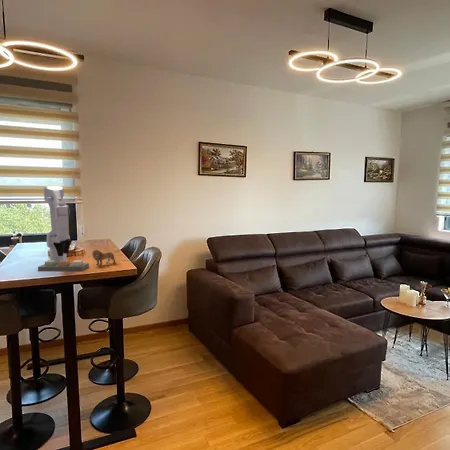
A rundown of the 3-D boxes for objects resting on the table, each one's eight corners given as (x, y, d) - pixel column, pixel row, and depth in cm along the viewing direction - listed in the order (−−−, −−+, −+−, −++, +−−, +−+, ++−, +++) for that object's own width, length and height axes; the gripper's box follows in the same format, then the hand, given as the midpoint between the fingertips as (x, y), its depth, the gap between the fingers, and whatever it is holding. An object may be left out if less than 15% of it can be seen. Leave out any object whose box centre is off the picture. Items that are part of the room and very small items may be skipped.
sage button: (48, 265, 178) (48, 260, 178) (56, 265, 178) (56, 260, 178) (44, 266, 174) (44, 261, 174) (52, 266, 174) (52, 261, 174)
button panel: (47, 266, 181) (47, 263, 181) (88, 266, 182) (88, 263, 182) (38, 270, 171) (37, 266, 171) (82, 270, 172) (82, 266, 172)
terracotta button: (61, 265, 178) (61, 260, 178) (69, 265, 179) (69, 260, 178) (58, 266, 174) (58, 261, 174) (66, 266, 175) (66, 261, 174)
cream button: (75, 265, 179) (75, 260, 179) (83, 265, 179) (83, 260, 179) (72, 266, 175) (72, 261, 175) (80, 266, 175) (80, 261, 175)
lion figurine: (96, 267, 182) (95, 250, 181) (90, 265, 185) (89, 249, 184) (118, 262, 194) (118, 247, 193) (112, 261, 197) (112, 246, 196)
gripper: (60, 227, 182) (60, 252, 183) (48, 230, 167) (49, 257, 168) (73, 227, 182) (74, 252, 183) (63, 230, 168) (64, 257, 169)
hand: (63, 254), depth 176 cm, fingers open, 7 cm apart
